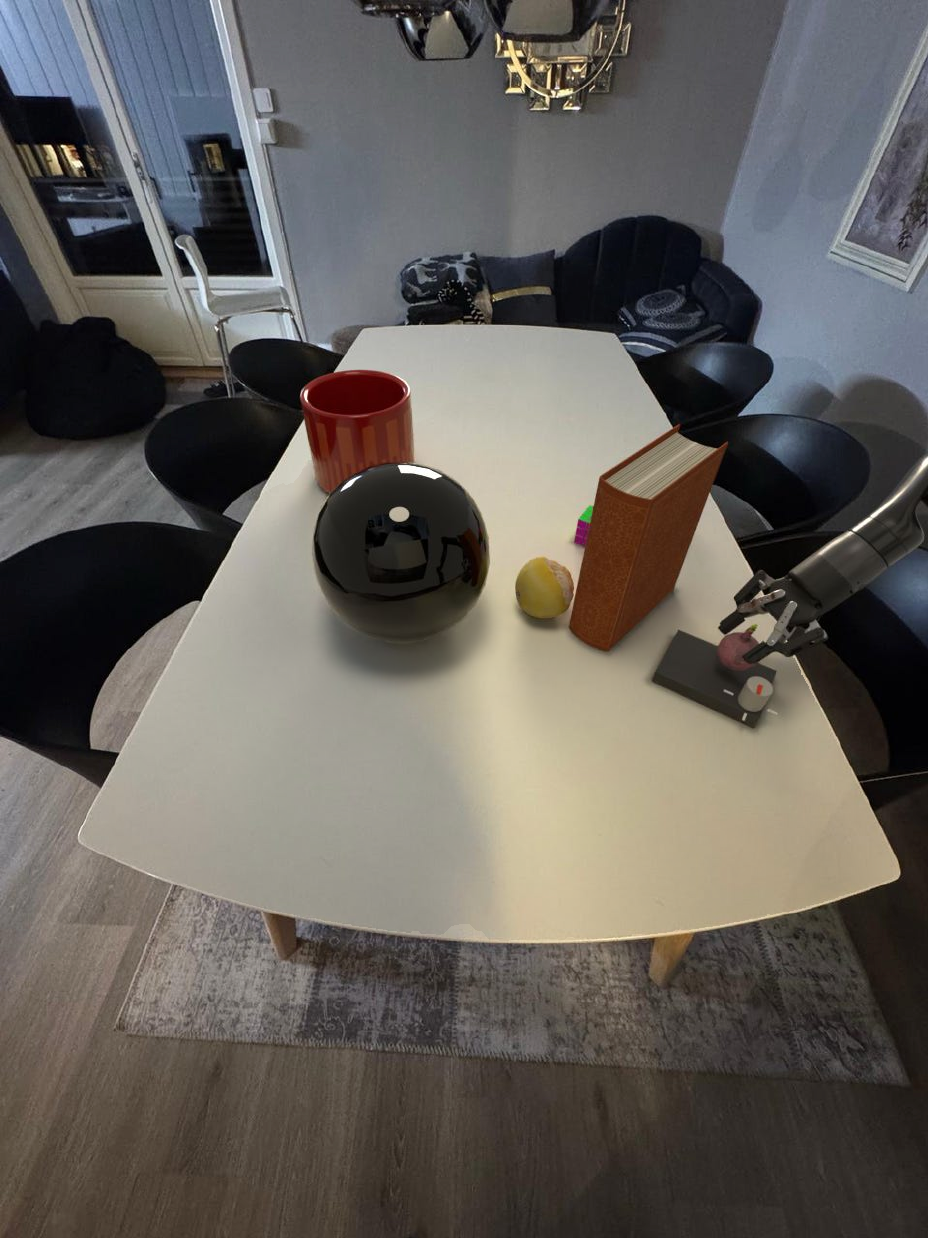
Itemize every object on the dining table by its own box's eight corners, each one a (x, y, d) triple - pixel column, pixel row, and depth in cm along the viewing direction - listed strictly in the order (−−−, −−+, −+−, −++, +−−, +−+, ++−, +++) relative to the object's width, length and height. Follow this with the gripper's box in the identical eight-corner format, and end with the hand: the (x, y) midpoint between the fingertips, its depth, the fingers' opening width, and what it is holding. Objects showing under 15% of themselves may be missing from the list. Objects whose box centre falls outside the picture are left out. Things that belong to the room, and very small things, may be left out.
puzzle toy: (610, 536, 118) (616, 513, 114) (600, 551, 114) (605, 528, 110) (584, 528, 120) (589, 504, 116) (573, 542, 116) (578, 518, 112)
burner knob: (740, 689, 87) (750, 671, 84) (764, 698, 86) (776, 681, 83) (735, 705, 85) (745, 688, 82) (760, 716, 84) (771, 698, 80)
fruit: (539, 638, 97) (546, 595, 90) (501, 602, 103) (504, 560, 96) (582, 614, 102) (592, 572, 94) (543, 581, 108) (549, 539, 101)
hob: (783, 685, 91) (790, 675, 89) (763, 742, 83) (771, 732, 81) (674, 639, 98) (678, 628, 96) (647, 688, 90) (651, 677, 88)
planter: (322, 452, 140) (307, 369, 126) (415, 450, 141) (411, 368, 127) (309, 505, 124) (291, 417, 110) (415, 503, 125) (410, 415, 111)
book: (635, 569, 110) (679, 423, 89) (673, 589, 106) (728, 442, 85) (564, 630, 99) (594, 479, 77) (604, 655, 95) (647, 503, 73)
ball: (320, 577, 108) (289, 441, 88) (462, 554, 113) (464, 421, 93) (336, 692, 89) (302, 552, 69) (506, 658, 94) (520, 518, 74)
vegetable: (719, 683, 87) (741, 639, 80) (704, 653, 92) (724, 609, 85) (757, 681, 87) (783, 637, 80) (741, 652, 92) (764, 607, 85)
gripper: (793, 528, 81) (696, 604, 88) (870, 594, 72) (754, 674, 78) (808, 551, 86) (714, 621, 92) (881, 615, 77) (771, 689, 83)
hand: (733, 645), depth 85 cm, fingers closed on vegetable, 5 cm apart
